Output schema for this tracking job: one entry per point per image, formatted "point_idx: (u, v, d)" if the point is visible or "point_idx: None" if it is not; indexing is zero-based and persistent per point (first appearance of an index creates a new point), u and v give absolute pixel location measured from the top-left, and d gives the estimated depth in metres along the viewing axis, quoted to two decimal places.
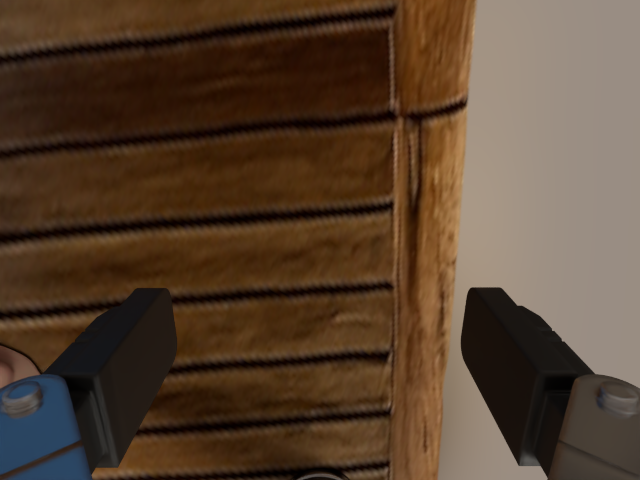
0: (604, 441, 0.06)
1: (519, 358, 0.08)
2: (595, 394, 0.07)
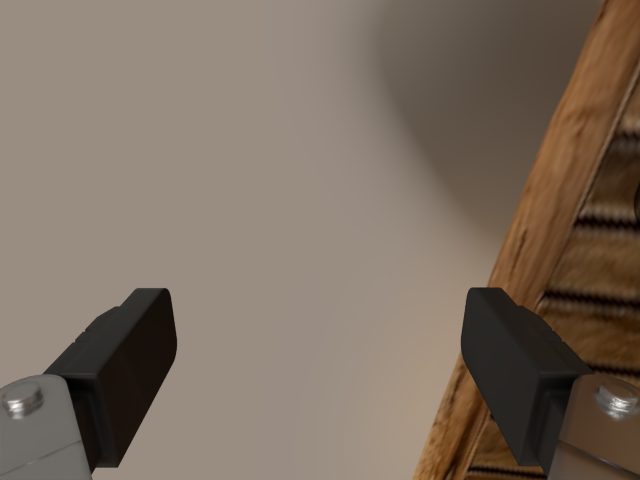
0: (604, 441, 0.06)
1: (519, 358, 0.08)
2: (595, 394, 0.07)
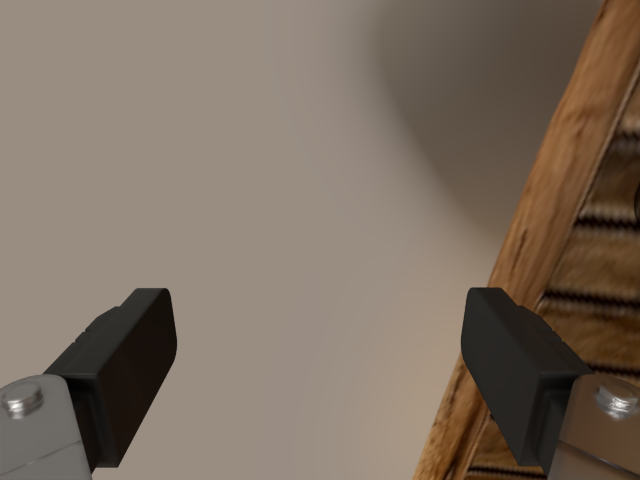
0: (604, 441, 0.06)
1: (519, 358, 0.08)
2: (595, 394, 0.07)
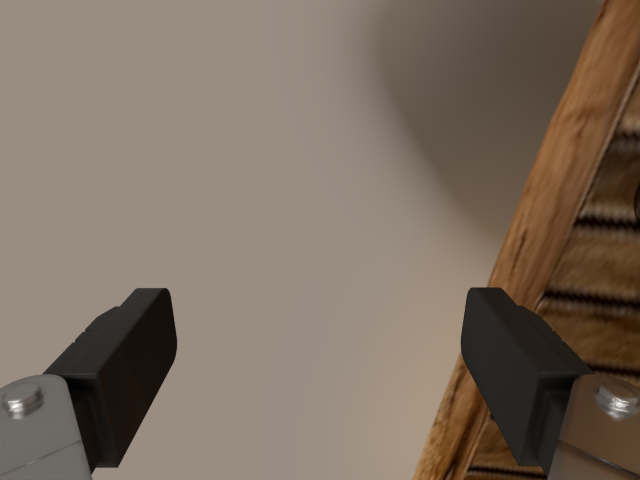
0: (604, 441, 0.06)
1: (519, 358, 0.08)
2: (595, 394, 0.07)
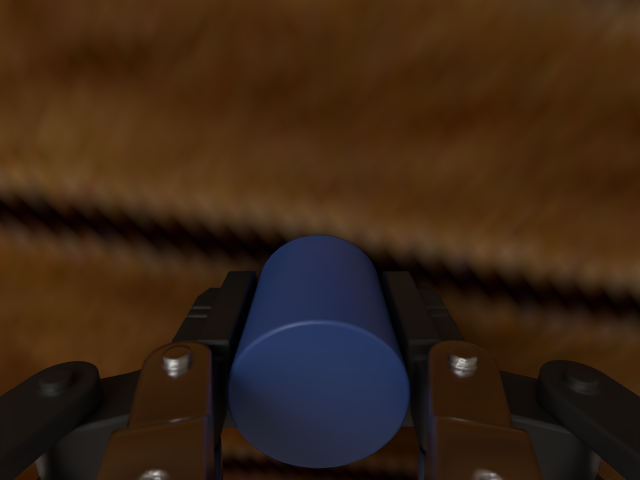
0: (462, 401, 0.07)
1: (400, 330, 0.09)
2: (444, 356, 0.08)
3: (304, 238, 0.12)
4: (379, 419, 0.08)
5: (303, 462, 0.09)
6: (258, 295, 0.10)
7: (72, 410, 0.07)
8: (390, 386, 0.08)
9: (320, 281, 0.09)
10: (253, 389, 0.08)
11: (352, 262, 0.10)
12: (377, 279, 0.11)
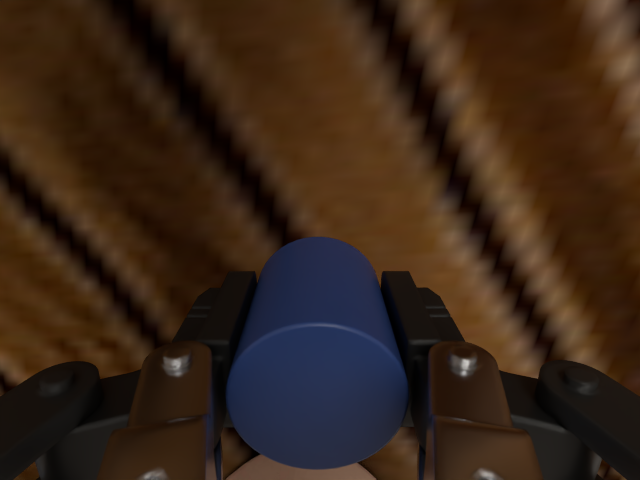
0: (463, 401, 0.07)
1: (400, 330, 0.09)
2: (444, 356, 0.08)
3: (303, 240, 0.12)
4: (378, 421, 0.08)
5: (302, 464, 0.09)
6: (257, 297, 0.10)
7: (72, 410, 0.07)
8: (389, 388, 0.08)
9: (319, 283, 0.09)
10: (251, 391, 0.08)
11: (351, 264, 0.10)
12: (376, 281, 0.11)
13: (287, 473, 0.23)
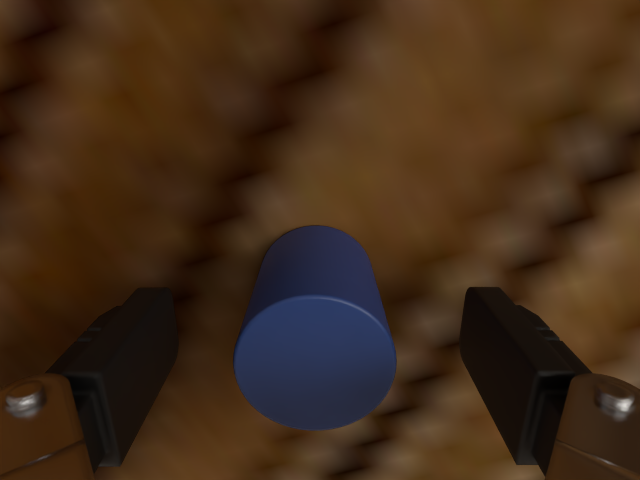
0: (601, 440, 0.06)
1: (517, 357, 0.08)
2: (592, 393, 0.07)
3: (303, 228, 0.13)
4: (368, 385, 0.09)
5: (301, 425, 0.10)
6: (261, 278, 0.11)
7: None
8: (378, 355, 0.09)
9: (316, 264, 0.10)
10: (256, 357, 0.09)
11: (345, 249, 0.11)
12: (369, 265, 0.12)
13: None
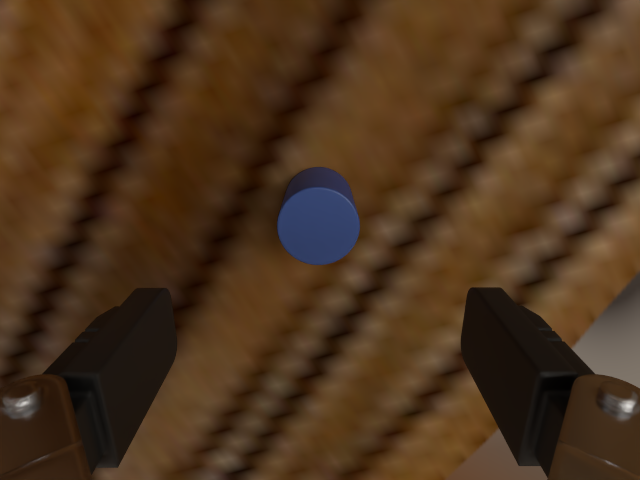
0: (604, 441, 0.06)
1: (519, 358, 0.08)
2: (595, 394, 0.07)
3: (310, 168, 0.22)
4: (345, 237, 0.18)
5: (311, 260, 0.19)
6: (288, 190, 0.20)
7: None
8: (350, 219, 0.18)
9: (318, 179, 0.19)
10: (289, 221, 0.18)
11: (335, 176, 0.20)
12: (349, 188, 0.21)
13: None
